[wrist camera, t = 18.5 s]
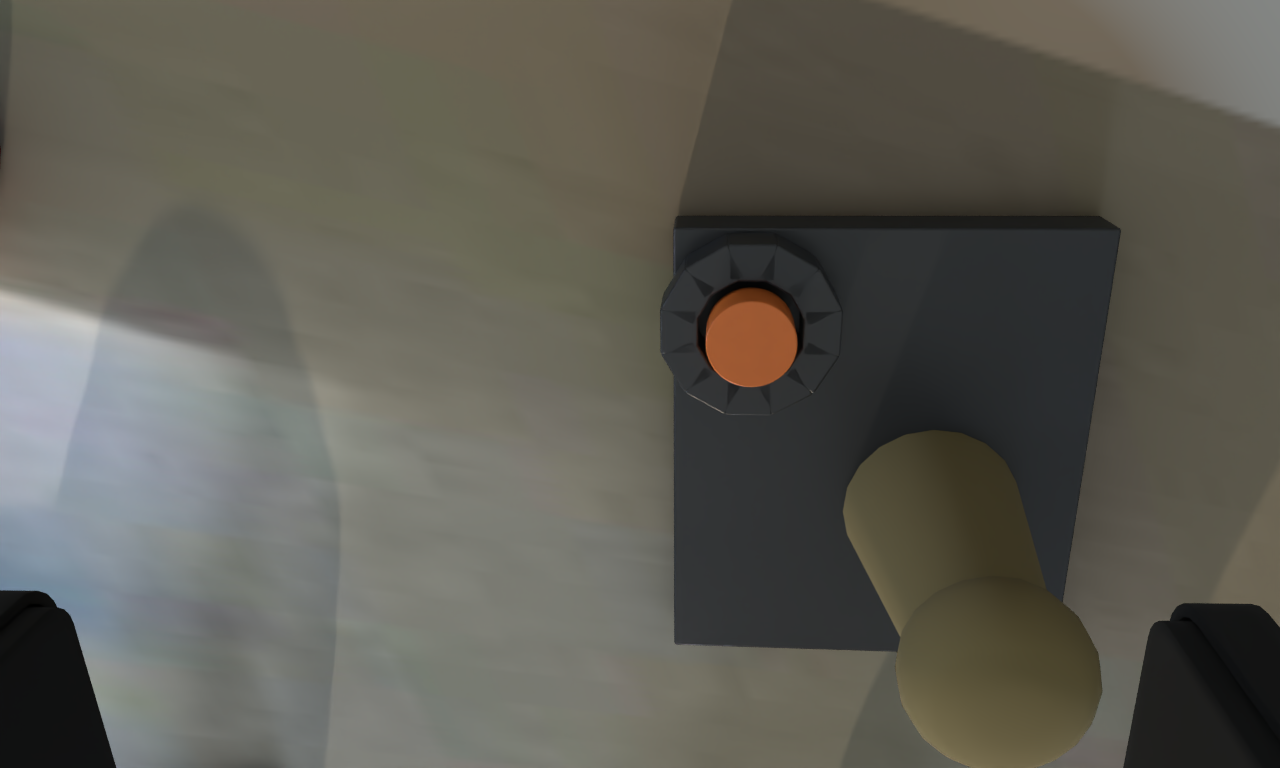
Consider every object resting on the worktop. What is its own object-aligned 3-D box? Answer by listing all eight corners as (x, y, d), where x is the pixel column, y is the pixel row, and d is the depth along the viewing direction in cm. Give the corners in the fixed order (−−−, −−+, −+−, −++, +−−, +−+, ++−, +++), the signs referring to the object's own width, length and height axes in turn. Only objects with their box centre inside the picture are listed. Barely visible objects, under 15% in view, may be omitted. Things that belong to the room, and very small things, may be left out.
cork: (842, 585, 37) (888, 811, 27) (843, 432, 35) (892, 616, 25) (1014, 581, 37) (1126, 811, 27) (1024, 426, 35) (1151, 612, 24)
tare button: (706, 286, 32) (706, 300, 31) (796, 287, 32) (799, 301, 31) (705, 369, 34) (705, 387, 32) (792, 370, 33) (795, 388, 32)
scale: (665, 215, 35) (659, 239, 32) (1101, 215, 34) (1141, 240, 31) (667, 616, 41) (662, 671, 37) (1039, 627, 40) (1068, 685, 36)
